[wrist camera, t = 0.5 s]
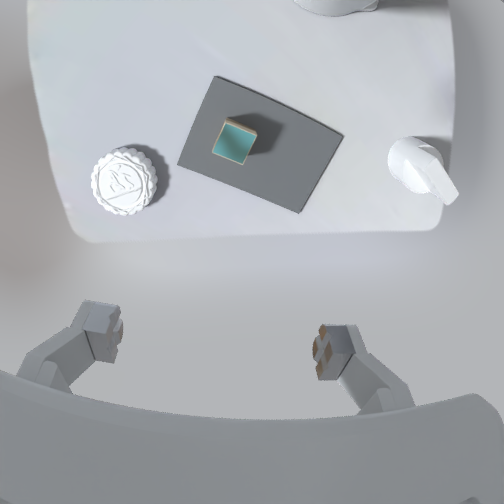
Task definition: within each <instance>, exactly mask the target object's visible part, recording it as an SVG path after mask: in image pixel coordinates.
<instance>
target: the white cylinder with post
mask: <svg viewBox="0 0 504 504" xmlns="http://www.w3.org/2000/svg"><path fill="white" fill-rule="evenodd" d="M388 167H389V170H390V172H391V174H392V175H393V176H394V177H395V178H396V179H397V180H399V181H400V182H401V183H402V184H403V185H405V186H406V187H407V188H408V189H409V190H411V191H412V192H415V193H419V194H423V193H427V192H429V191H430V192H431V193H433V194H434V195H435V196H436V197H438V198H439V199H440V200H441V201H442V202H444V203H445V204H446V205H450V204H451V203H452V202H453V201H454V200H455V199H456V198H457V196H458V195H459V193H458V191H457V190H456V188H455V186H454V184H453V183H452V181H451V179H450V178H449V176H448V175H447V173H446V171H445V170H444V162H443V158H442V156H441V154H440V152H439V151H438V150H437V149H436V148H434V147H433V146H431V145H429V144H427V143H425V142H423V141H421V140H419V139H417V138H415V137H410V136H409V137H403V138H401V139H399V140H398V141H396V142H395V143H394V144H393V146H392V147H391V149H390V151H389V155H388Z"/></svg>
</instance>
